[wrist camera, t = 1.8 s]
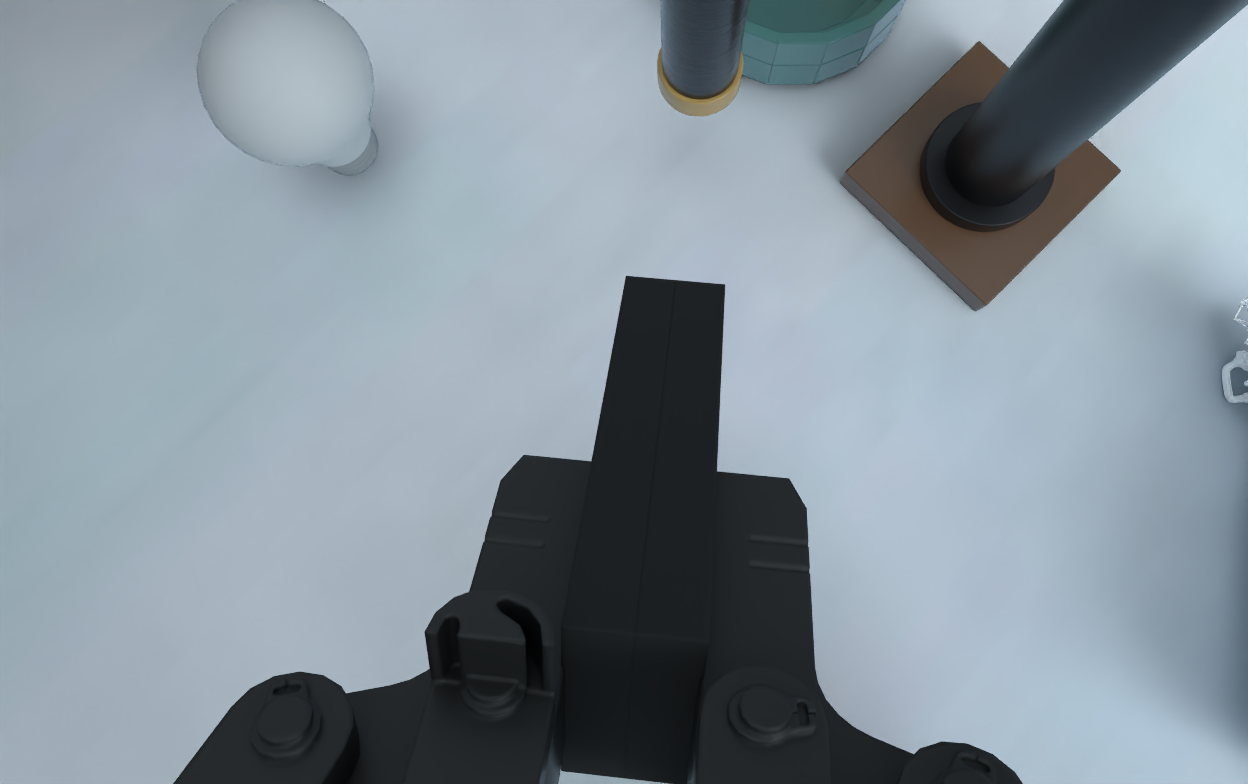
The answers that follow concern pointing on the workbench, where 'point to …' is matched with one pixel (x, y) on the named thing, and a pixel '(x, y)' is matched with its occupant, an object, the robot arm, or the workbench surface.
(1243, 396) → the rocket engine
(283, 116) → the lightbulb
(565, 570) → the robot arm
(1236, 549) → the workbench surface
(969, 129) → the black post
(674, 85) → the spout
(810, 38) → the basin
